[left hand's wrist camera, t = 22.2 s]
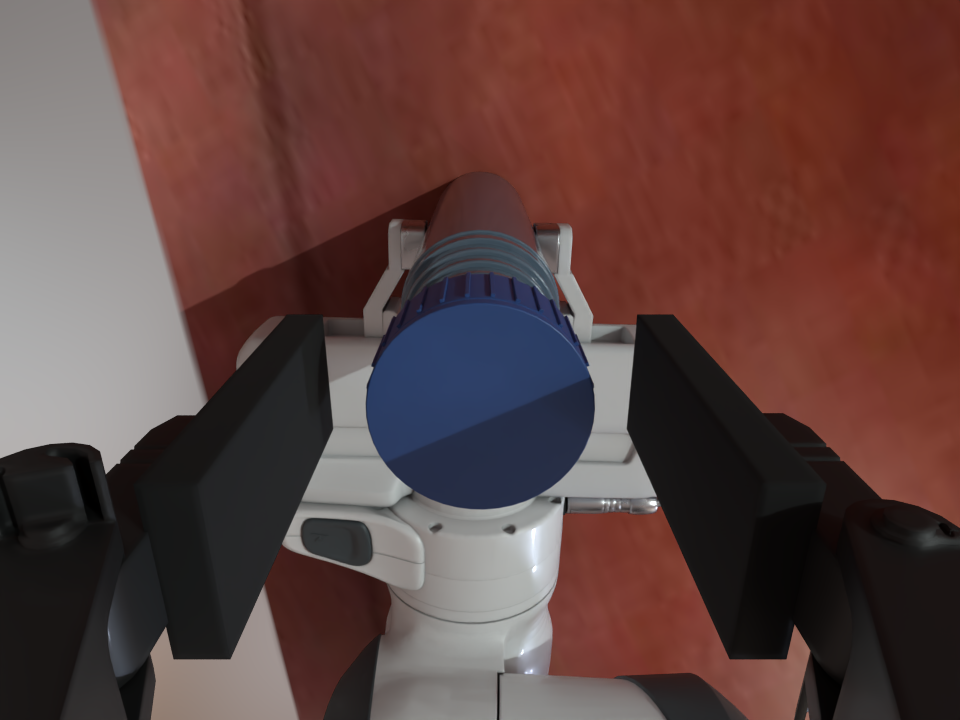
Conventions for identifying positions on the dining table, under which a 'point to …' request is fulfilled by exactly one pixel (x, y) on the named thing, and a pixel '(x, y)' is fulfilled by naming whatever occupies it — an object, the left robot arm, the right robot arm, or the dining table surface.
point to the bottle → (480, 238)
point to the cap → (480, 393)
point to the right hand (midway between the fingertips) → (479, 223)
